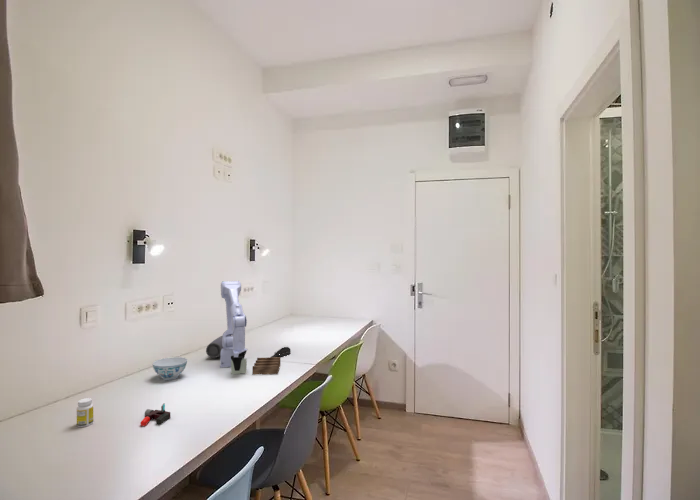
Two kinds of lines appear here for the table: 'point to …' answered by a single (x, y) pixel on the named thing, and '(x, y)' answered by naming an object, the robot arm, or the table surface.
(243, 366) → the pale green box
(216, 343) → the bluetooth speaker
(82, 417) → the supplement bottle
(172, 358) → the chinaware
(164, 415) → the toy gun
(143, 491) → the table surface
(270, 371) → the dish rack
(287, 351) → the hairbrush
